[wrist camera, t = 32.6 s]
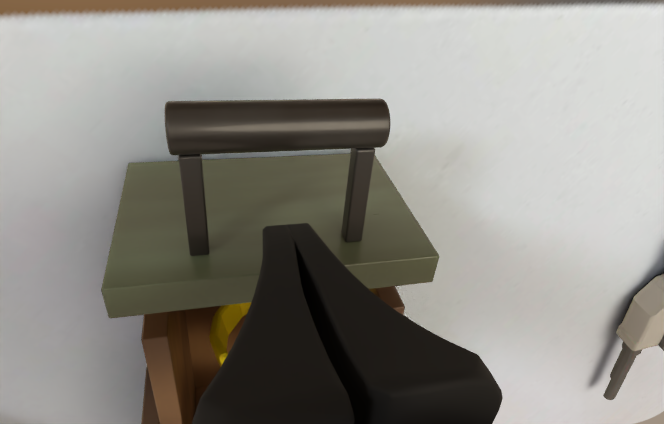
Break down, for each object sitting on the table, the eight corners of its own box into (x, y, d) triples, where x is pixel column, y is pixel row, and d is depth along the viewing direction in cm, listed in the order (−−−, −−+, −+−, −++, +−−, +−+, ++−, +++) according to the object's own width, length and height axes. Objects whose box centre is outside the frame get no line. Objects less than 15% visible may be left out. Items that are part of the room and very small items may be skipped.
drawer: (104, 36, 16) (56, 129, 10) (389, 41, 19) (478, 119, 13) (169, 383, 27) (163, 520, 21) (343, 357, 30) (379, 474, 24)
